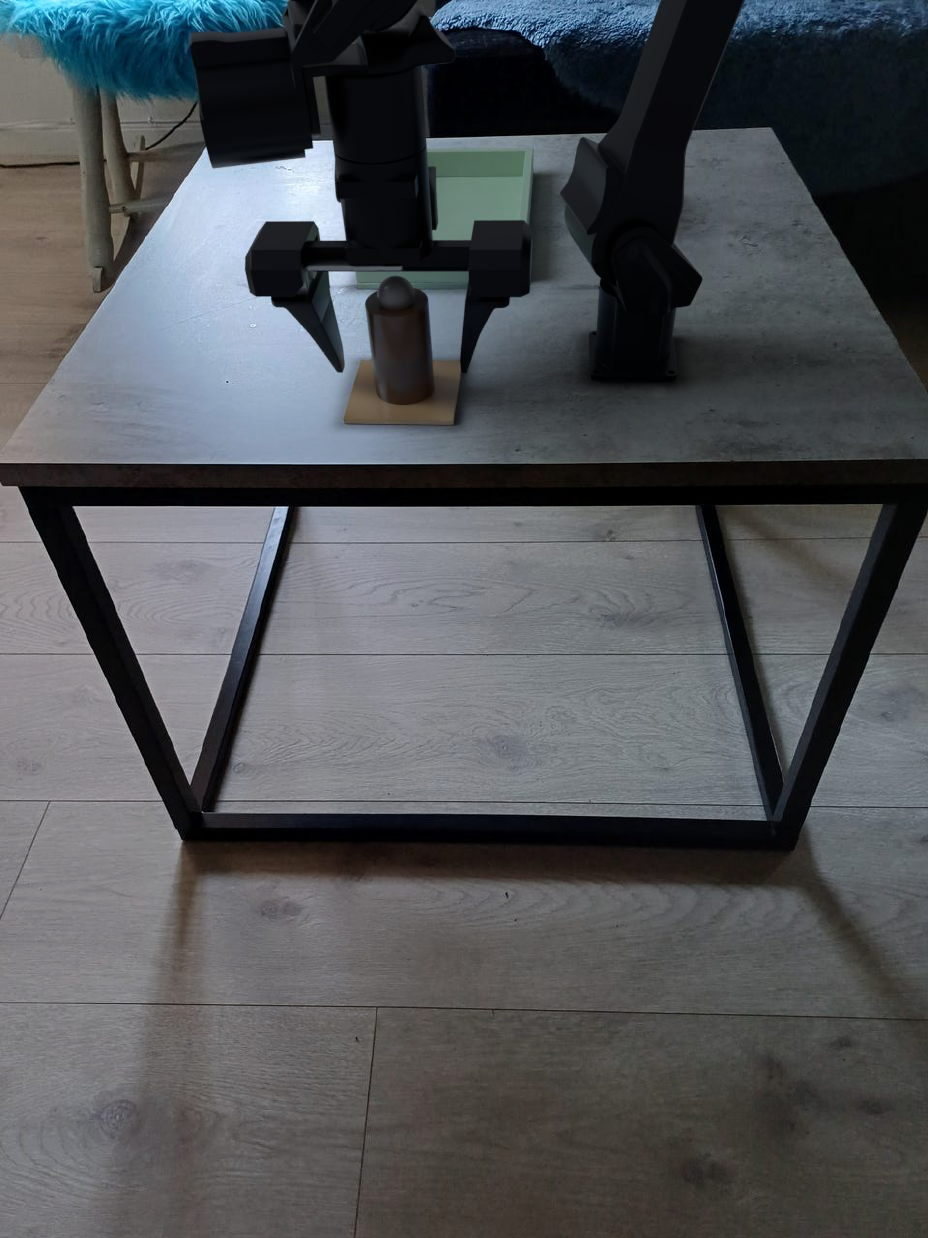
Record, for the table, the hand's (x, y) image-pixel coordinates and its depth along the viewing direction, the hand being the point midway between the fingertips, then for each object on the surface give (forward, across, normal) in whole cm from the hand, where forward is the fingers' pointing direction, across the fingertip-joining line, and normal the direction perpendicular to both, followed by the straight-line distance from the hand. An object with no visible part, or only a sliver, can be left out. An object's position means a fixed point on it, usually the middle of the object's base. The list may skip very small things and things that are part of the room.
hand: (402, 370), depth 69 cm
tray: (+2, -1, -28) cm, 28 cm away
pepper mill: (+2, 0, 0) cm, 2 cm away
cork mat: (+2, 0, 0) cm, 2 cm away
